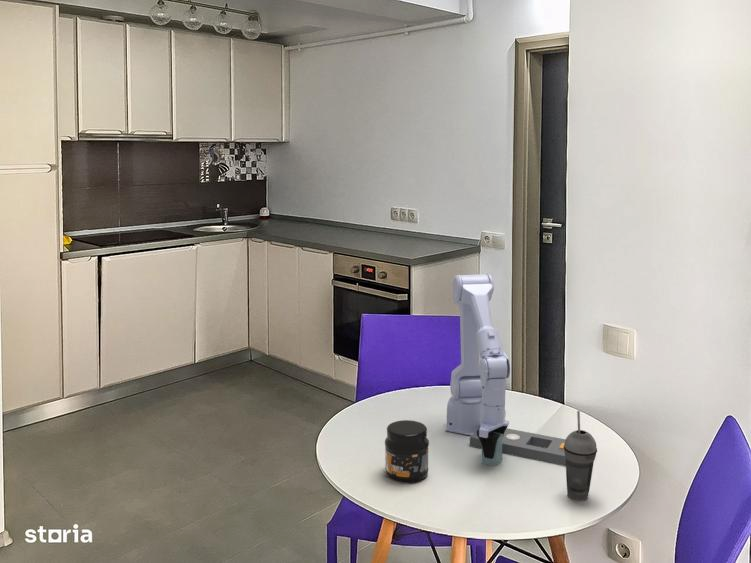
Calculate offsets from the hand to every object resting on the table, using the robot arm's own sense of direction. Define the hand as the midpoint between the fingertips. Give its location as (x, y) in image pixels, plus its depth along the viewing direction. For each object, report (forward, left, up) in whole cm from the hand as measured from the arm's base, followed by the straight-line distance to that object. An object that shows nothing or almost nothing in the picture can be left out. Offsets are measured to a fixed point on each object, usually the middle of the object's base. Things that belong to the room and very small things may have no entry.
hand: (491, 454), depth 179 cm
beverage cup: (+23, -8, -2) cm, 24 cm away
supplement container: (-16, -16, -2) cm, 23 cm away
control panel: (+5, +11, -2) cm, 12 cm away
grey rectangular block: (0, 0, -2) cm, 2 cm away
